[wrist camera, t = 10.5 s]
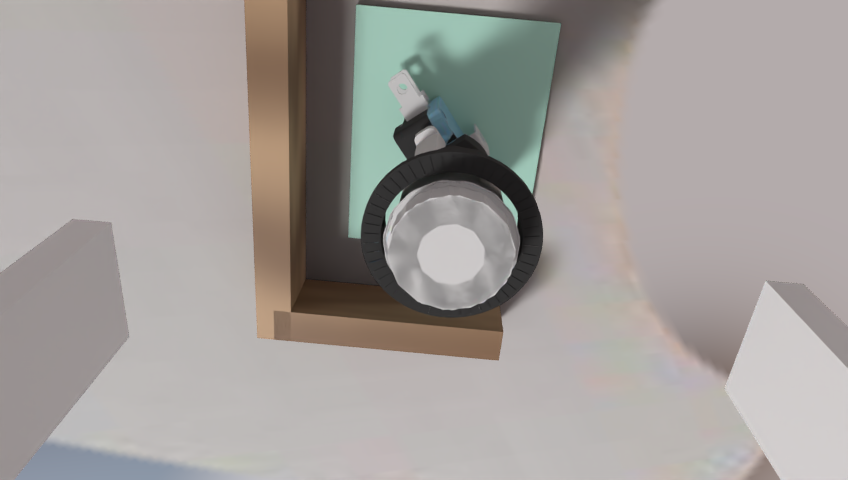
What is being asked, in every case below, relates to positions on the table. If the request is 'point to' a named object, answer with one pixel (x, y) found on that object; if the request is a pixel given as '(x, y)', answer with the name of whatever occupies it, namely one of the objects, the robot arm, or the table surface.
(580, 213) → the table surface
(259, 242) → the wooden l-shaped wall
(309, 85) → the table surface
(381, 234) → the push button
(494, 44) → the pad
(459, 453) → the table surface
